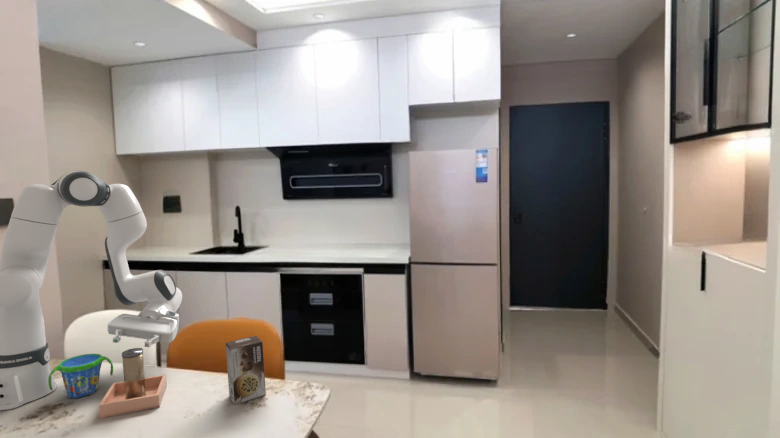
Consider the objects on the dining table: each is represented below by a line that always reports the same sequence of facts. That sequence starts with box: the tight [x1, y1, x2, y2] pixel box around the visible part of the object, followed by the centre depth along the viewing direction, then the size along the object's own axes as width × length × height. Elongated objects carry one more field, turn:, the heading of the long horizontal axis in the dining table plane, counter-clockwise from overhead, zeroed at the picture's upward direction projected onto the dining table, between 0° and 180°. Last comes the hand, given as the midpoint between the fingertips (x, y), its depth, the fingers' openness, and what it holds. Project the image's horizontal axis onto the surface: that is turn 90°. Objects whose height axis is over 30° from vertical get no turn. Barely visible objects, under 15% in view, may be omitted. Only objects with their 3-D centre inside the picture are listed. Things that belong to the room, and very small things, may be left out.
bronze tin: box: [121, 347, 146, 399], centre depth 119 cm, size 5×5×14 cm
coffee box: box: [225, 335, 267, 405], centre depth 120 cm, size 9×6×16 cm
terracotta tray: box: [98, 374, 168, 419], centre depth 119 cm, size 14×14×4 cm
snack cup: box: [48, 353, 114, 399], centre depth 124 cm, size 16×10×10 cm
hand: (131, 343), depth 129 cm, fingers open, 8 cm apart
